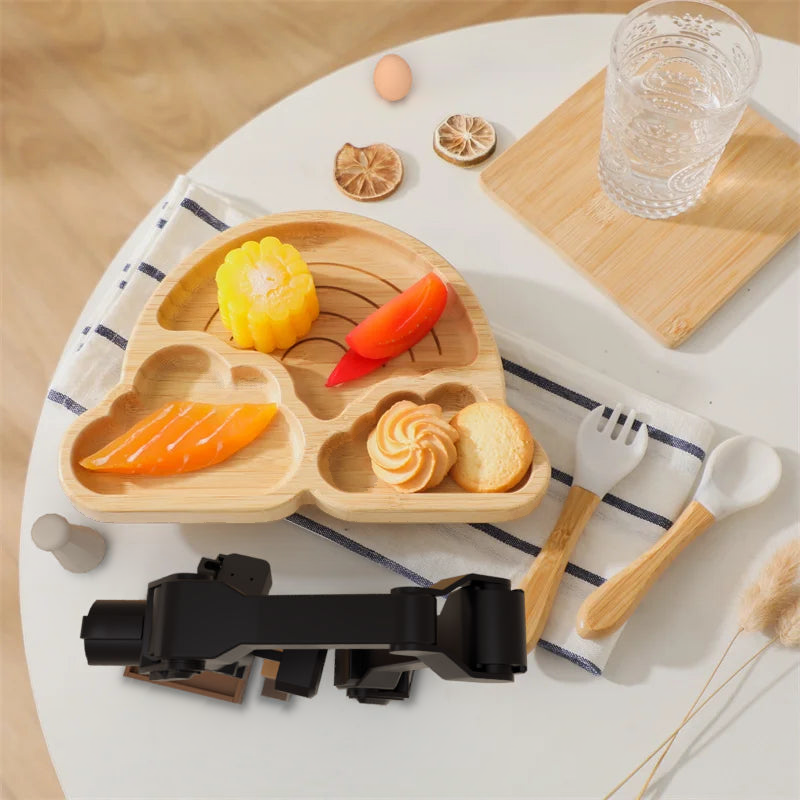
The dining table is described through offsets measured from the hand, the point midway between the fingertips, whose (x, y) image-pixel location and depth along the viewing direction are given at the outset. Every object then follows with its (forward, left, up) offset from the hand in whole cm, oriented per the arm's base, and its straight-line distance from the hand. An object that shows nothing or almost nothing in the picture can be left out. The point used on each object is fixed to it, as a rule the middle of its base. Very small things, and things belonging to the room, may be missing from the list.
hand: (248, 654), depth 98 cm
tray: (+9, 0, -12) cm, 15 cm away
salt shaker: (+26, -8, -12) cm, 30 cm away
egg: (+4, -85, -12) cm, 86 cm away
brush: (-2, 0, -12) cm, 12 cm away
